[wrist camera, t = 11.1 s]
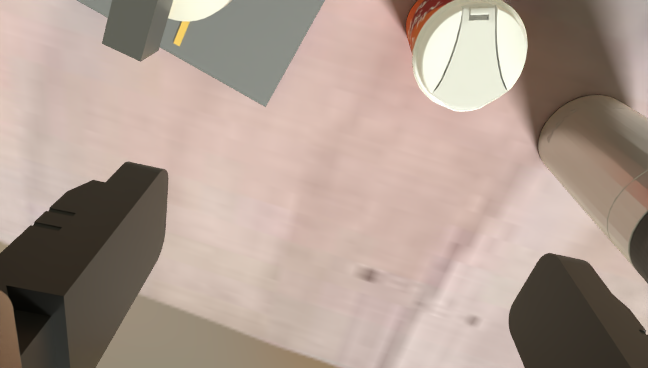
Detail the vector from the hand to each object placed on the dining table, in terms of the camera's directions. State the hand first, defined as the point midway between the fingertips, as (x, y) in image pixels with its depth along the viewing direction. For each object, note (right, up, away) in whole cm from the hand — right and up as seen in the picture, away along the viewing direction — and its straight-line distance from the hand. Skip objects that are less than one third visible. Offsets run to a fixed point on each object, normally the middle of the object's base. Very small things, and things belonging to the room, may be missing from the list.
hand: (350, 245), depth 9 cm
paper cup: (+10, +16, +32) cm, 37 cm away
